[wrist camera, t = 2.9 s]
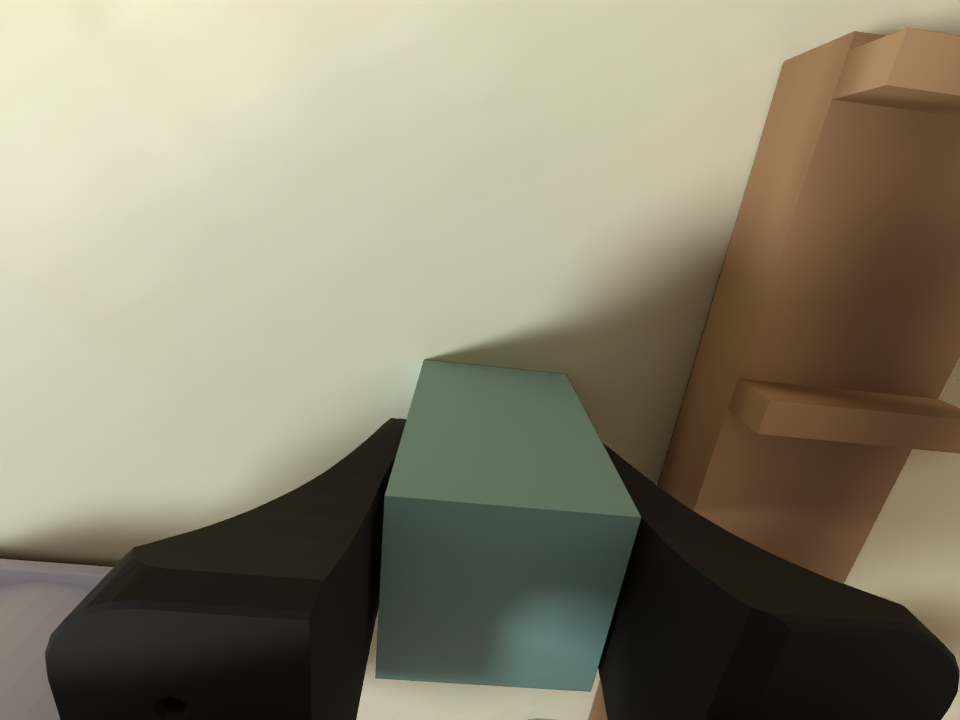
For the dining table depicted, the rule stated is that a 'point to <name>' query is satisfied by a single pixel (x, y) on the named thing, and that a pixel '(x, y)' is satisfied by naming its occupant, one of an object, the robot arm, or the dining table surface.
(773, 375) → the rail
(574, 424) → the block
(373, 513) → the robot arm
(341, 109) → the dining table surface
